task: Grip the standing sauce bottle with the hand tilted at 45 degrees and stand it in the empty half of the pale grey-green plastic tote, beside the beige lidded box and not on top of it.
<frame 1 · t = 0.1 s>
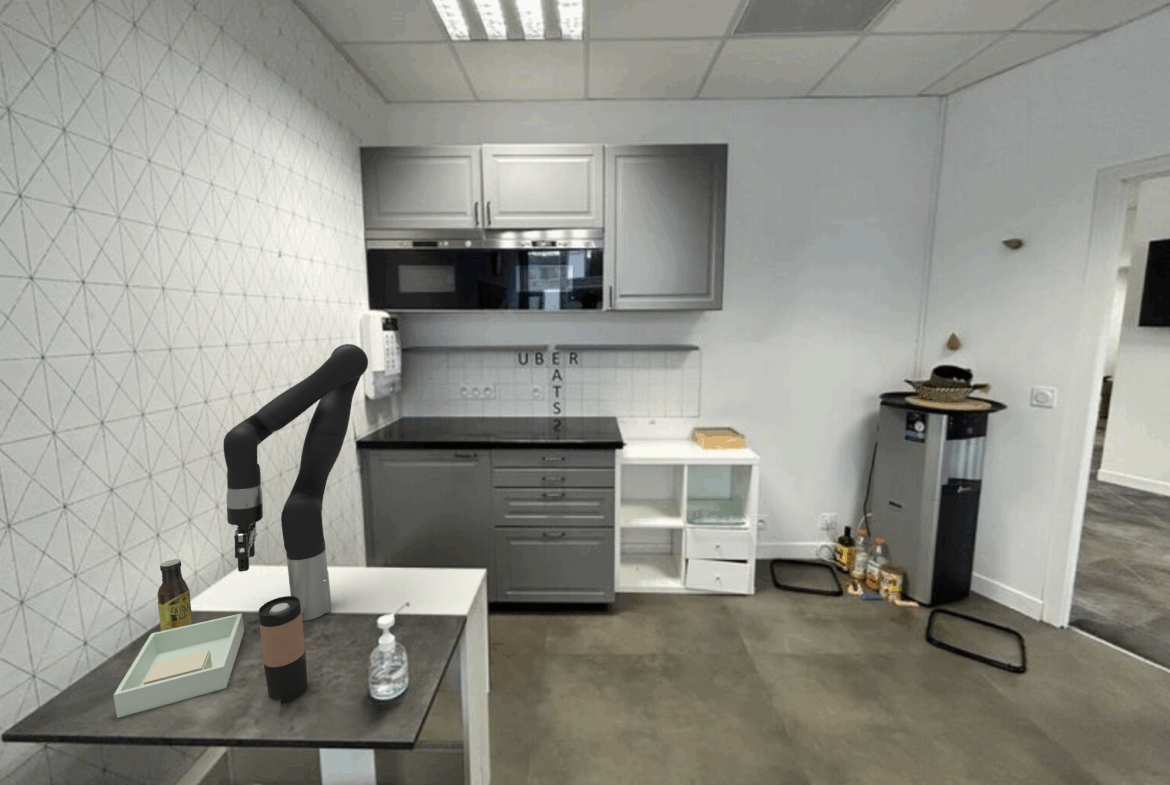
hand: (246, 563, 128), 17 cm above the table, tool pointing down, fingers open, 8 cm apart
sauce bottle: (178, 637, 126), on the table
tote: (188, 673, 113), on the table
travel mug: (288, 692, 107), on the table
beige lidded box: (180, 686, 107), point 1 cm above the table, touching tote
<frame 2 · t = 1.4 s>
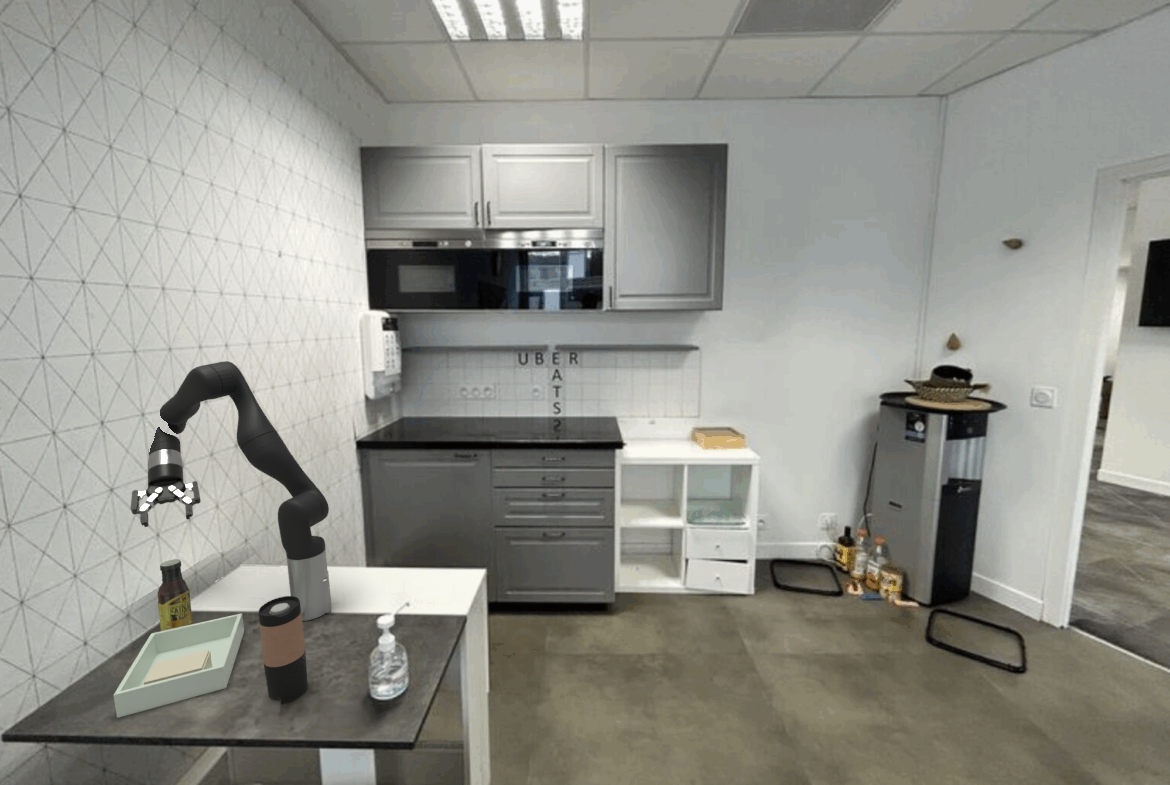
hand: (167, 521, 131), 27 cm above the table, tool tilted 45°, fingers open, 8 cm apart
nothing on the table moved.
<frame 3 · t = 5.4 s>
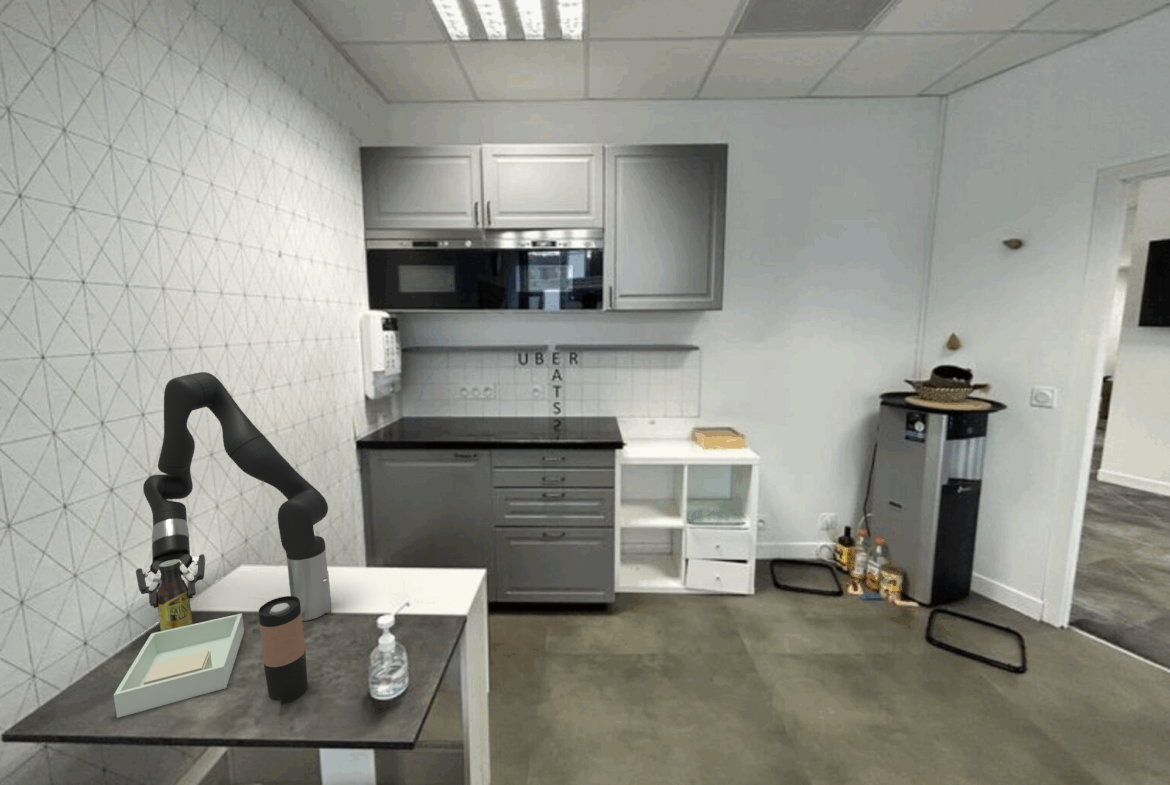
hand: (173, 601, 123), 10 cm above the table, tool tilted 45°, fingers closed on sauce bottle, 6 cm apart
sauce bottle: (178, 637, 126), on the table, touching gripper
everything else where it was.
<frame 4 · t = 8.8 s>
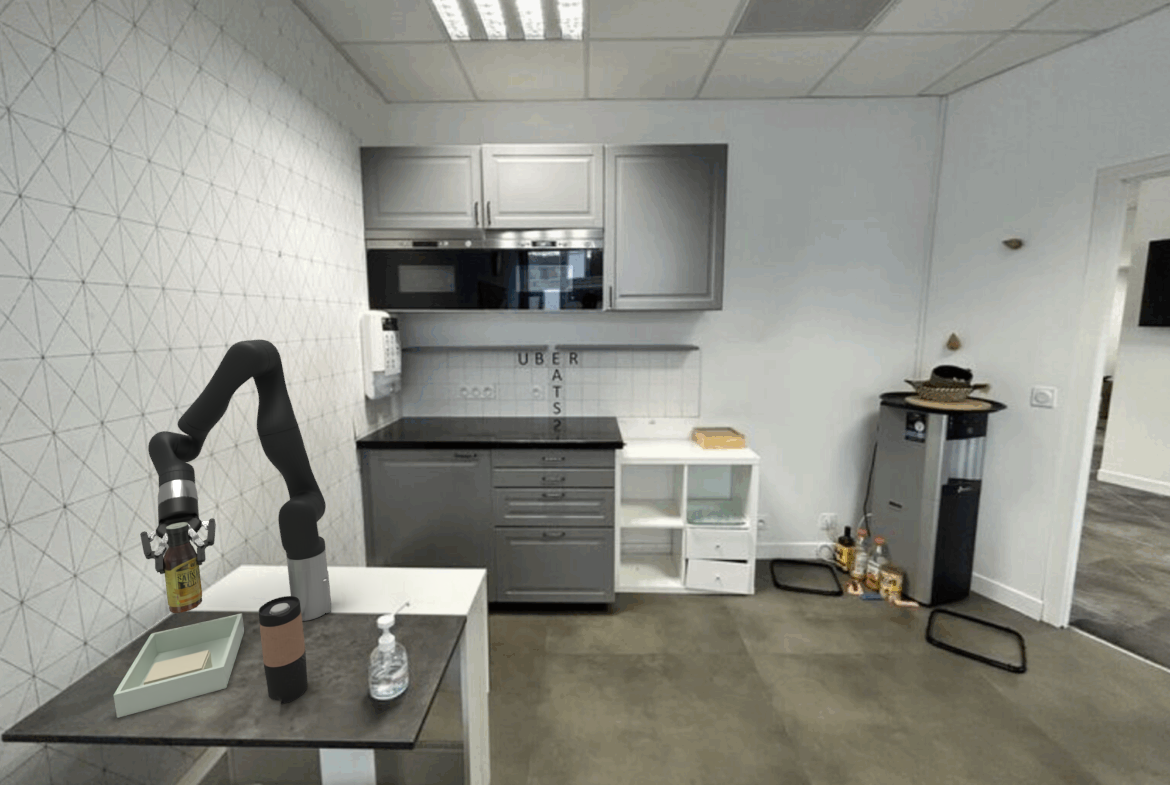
hand: (181, 568, 112), 24 cm above the table, tool tilted 45°, fingers closed on sauce bottle, 6 cm apart
sauce bottle: (187, 607, 115), point 13 cm above the table, touching gripper
everything else where it was.
when the fingers open (13 cm above the table, at t = 11.8 s): sauce bottle drops 1 cm, resting on tote.
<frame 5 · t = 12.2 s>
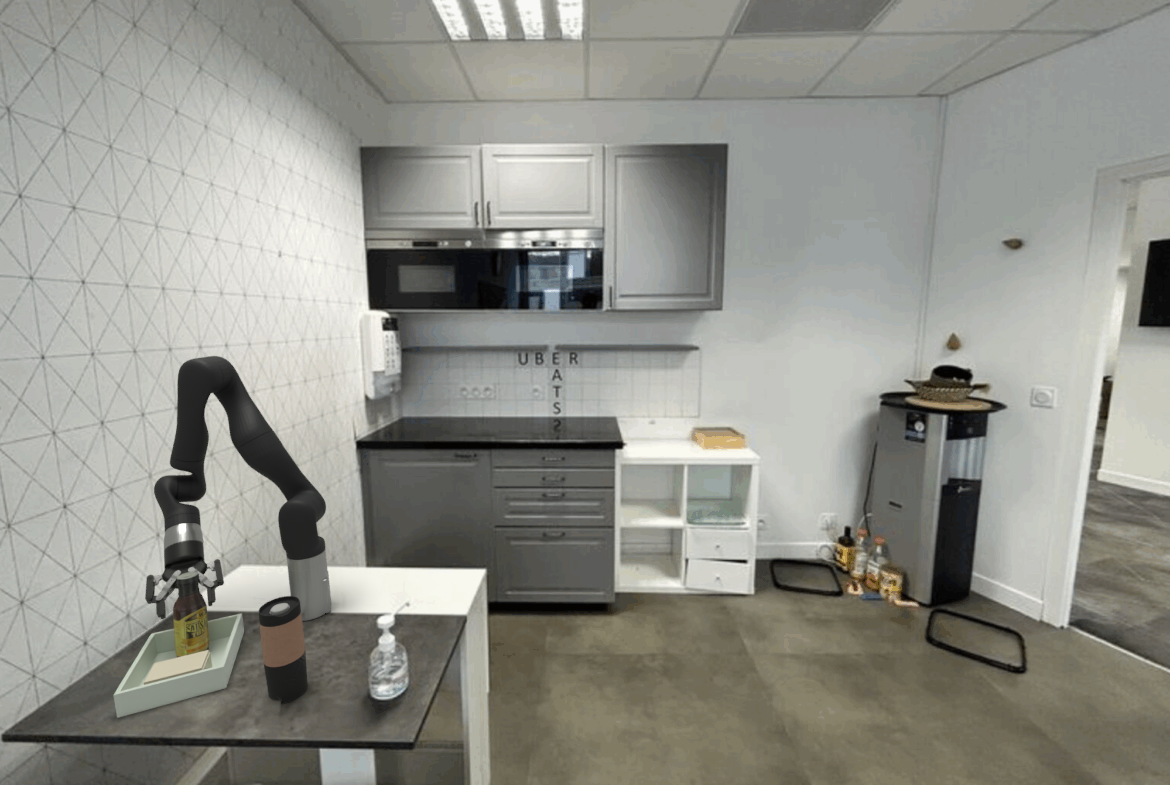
hand: (187, 611, 114), 13 cm above the table, tool tilted 45°, fingers open, 8 cm apart
sauce bottle: (194, 656, 117), point 1 cm above the table, touching tote
everything else where it was.
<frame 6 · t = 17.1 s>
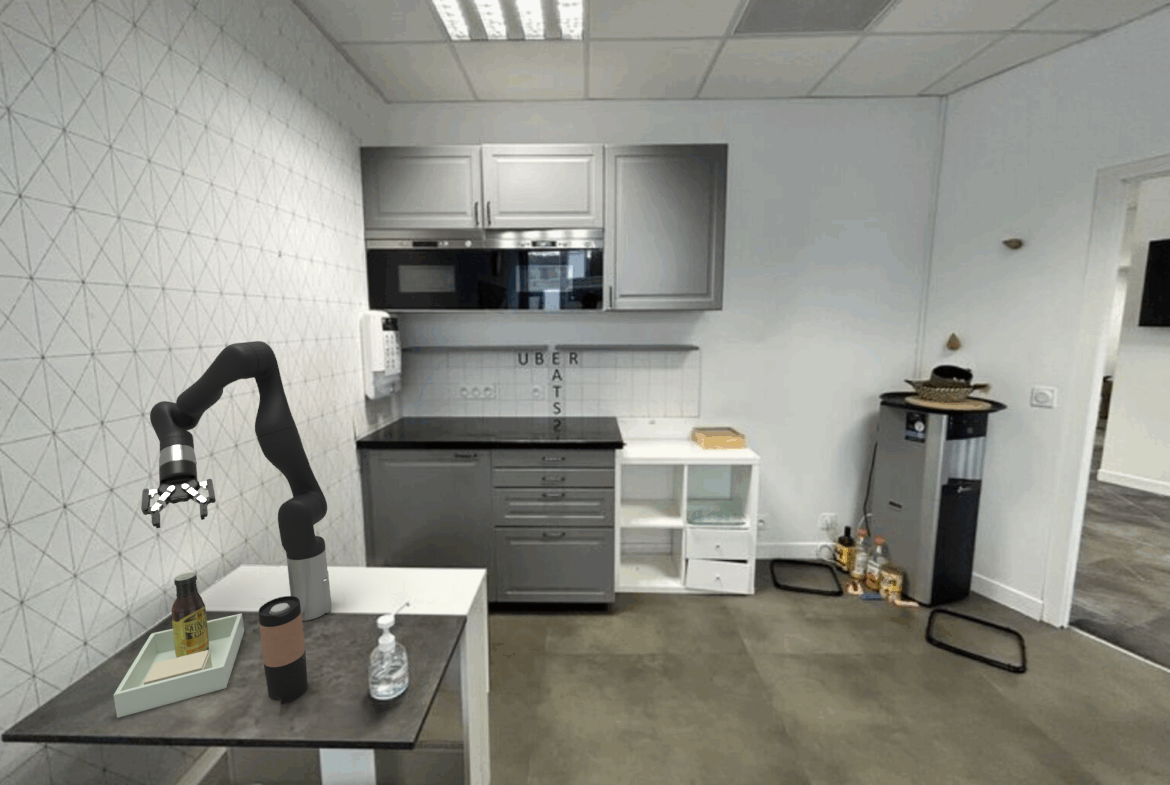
hand: (180, 522, 121), 31 cm above the table, tool tilted 45°, fingers open, 8 cm apart
nothing on the table moved.
at the end: sauce bottle inside the target area on the tote (0.5 cm from its centre), point 0.8 cm above the tote's base; sauce bottle tilted 0°; beige lidded box moved 0.0 cm from its start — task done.
